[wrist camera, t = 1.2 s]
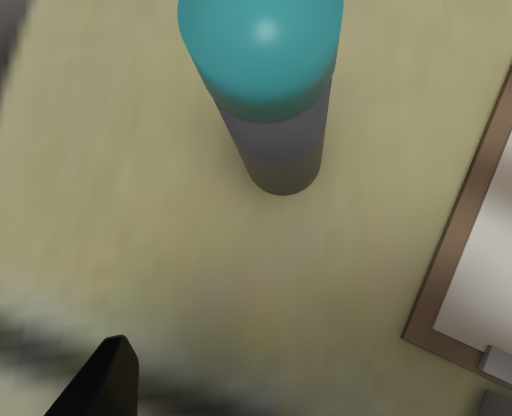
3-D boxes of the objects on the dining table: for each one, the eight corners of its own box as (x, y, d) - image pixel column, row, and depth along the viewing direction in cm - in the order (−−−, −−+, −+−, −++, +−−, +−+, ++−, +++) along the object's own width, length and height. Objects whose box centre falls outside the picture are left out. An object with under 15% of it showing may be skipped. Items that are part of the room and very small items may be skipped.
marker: (302, 208, 24) (301, 108, 11) (233, 178, 24) (149, 49, 11) (334, 139, 24) (370, -39, 11) (264, 112, 25) (220, -88, 12)
